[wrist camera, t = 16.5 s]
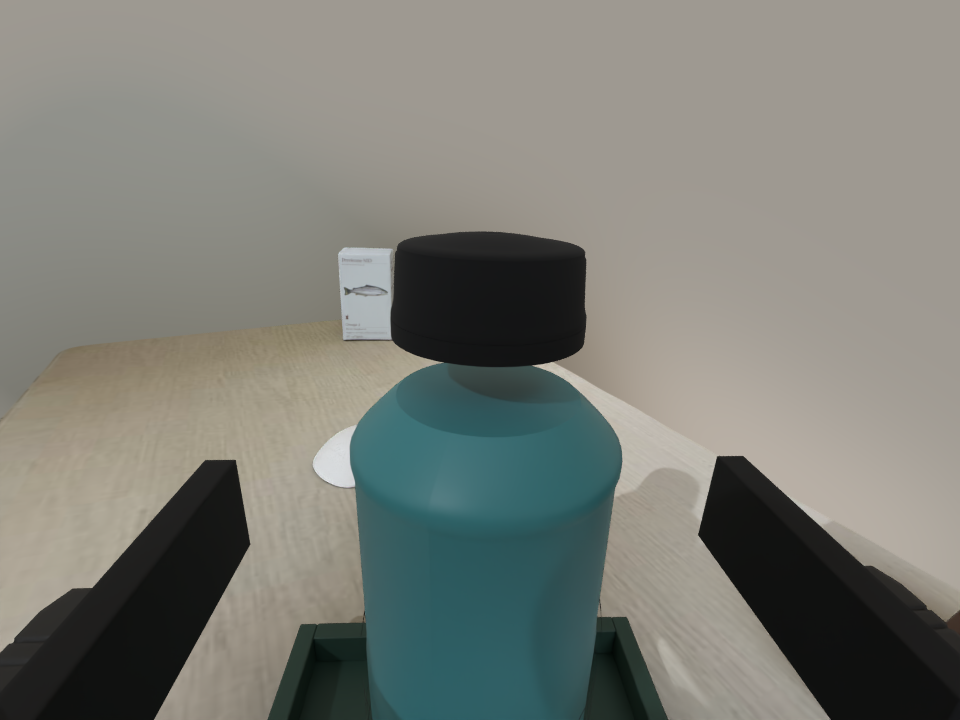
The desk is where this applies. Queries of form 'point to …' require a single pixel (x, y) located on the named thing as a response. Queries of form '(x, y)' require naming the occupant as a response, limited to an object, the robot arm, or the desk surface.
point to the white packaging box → (366, 292)
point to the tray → (341, 666)
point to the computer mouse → (336, 459)
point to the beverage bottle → (484, 488)
